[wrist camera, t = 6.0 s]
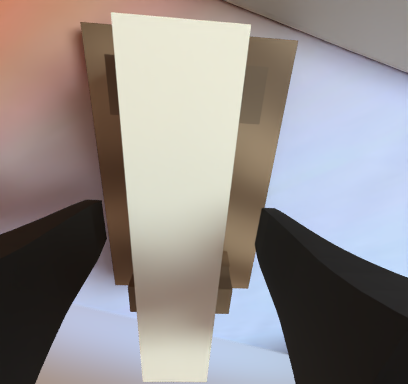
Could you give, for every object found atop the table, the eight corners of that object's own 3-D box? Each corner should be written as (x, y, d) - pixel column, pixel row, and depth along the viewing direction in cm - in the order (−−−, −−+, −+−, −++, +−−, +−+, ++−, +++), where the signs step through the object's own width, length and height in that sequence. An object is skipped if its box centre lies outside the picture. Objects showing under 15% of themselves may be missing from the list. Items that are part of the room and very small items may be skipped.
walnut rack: (245, 276, 18) (258, 330, 14) (120, 272, 18) (97, 327, 14) (288, 45, 12) (338, 21, 8) (91, 28, 11) (30, -8, 7)
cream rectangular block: (203, 294, 15) (206, 381, 11) (159, 293, 15) (142, 381, 11) (225, 56, 9) (251, 24, 5) (153, 50, 9) (110, 12, 5)
